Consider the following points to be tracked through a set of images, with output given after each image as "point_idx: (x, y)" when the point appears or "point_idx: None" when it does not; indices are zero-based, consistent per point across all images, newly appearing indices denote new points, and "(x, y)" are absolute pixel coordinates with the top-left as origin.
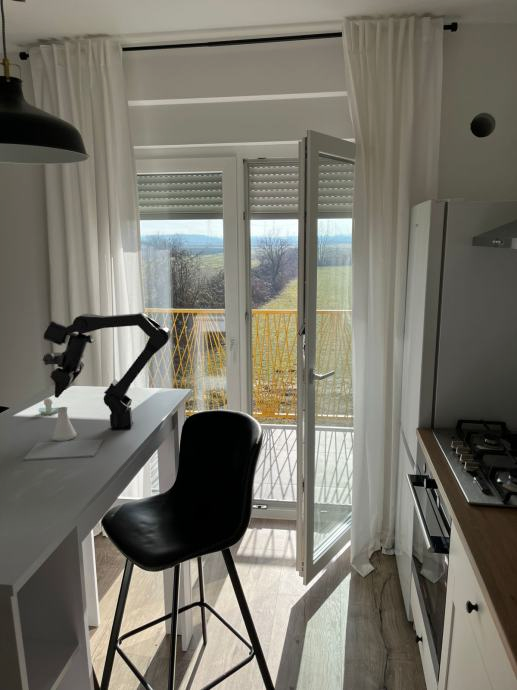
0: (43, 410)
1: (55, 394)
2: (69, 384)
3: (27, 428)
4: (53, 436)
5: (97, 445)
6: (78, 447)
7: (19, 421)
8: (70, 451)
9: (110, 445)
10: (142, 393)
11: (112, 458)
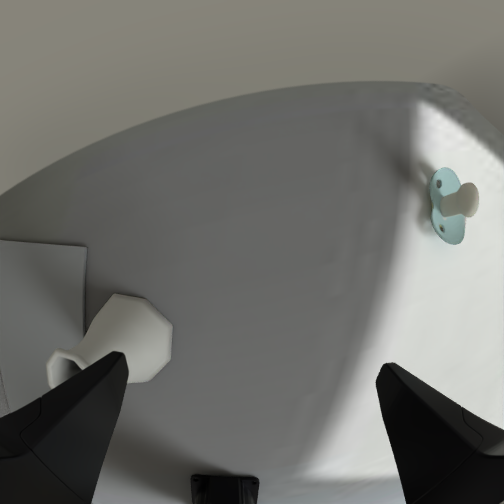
0: (447, 186)
1: (96, 367)
2: (391, 437)
3: (284, 155)
4: (108, 300)
5: None
6: (40, 385)
7: (369, 117)
8: (19, 363)
9: None
10: None
11: None
